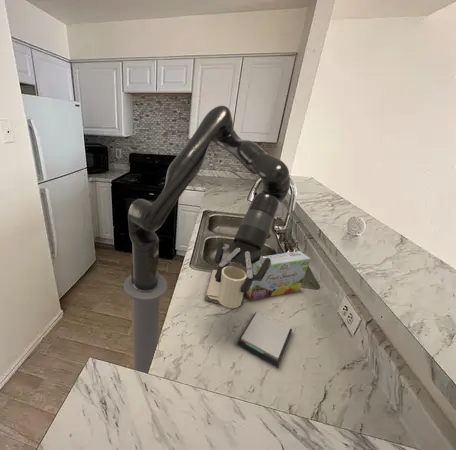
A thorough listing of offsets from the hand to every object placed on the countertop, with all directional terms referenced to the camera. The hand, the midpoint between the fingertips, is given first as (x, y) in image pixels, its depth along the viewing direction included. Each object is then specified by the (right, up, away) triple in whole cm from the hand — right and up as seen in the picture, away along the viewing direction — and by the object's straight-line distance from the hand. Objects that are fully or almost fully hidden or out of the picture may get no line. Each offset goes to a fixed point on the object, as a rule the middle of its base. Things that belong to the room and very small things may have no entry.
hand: (229, 286), depth 65 cm
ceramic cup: (+1, -4, +4) cm, 6 cm away
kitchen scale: (+13, -18, +10) cm, 24 cm away
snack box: (+24, -9, +29) cm, 38 cm away
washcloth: (+7, -8, +29) cm, 31 cm away
